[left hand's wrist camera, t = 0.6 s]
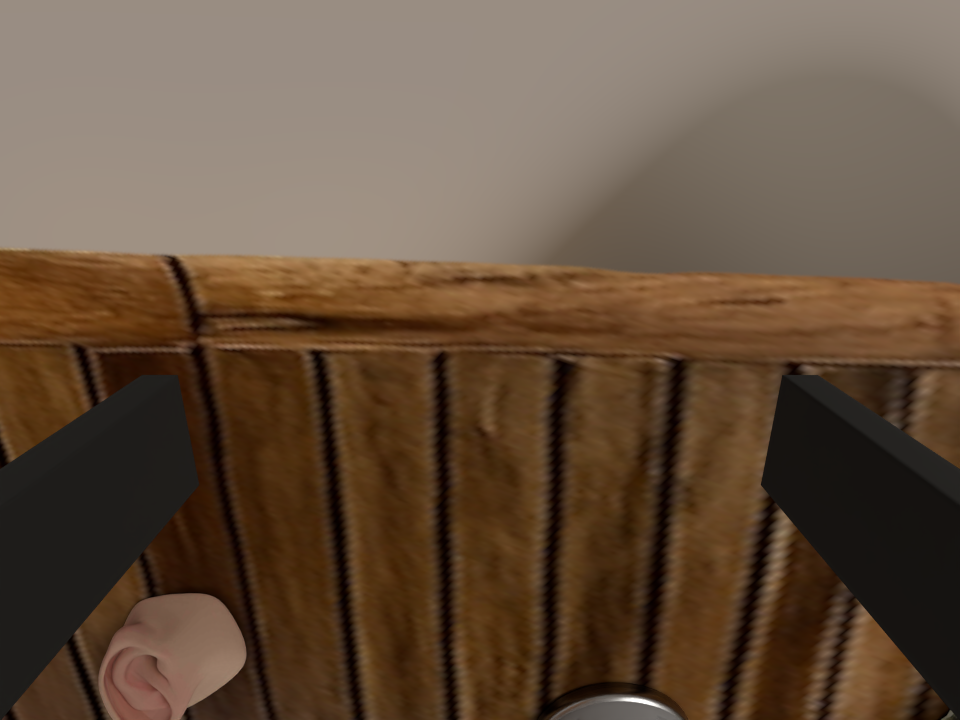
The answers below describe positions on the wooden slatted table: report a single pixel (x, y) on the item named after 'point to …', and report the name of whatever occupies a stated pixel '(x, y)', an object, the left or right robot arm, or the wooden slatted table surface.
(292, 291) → the wooden slatted table surface
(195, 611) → the anatomical model
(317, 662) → the wooden slatted table surface
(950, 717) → the fossil
